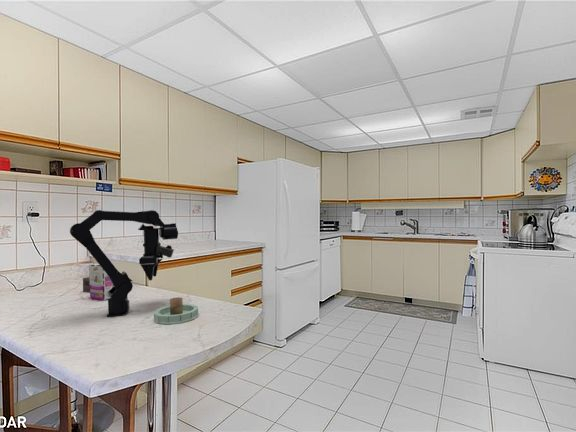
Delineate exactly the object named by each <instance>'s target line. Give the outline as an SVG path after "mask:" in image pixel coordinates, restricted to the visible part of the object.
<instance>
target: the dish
mask: <svg viewBox="0 0 576 432" xmlns="http://www.w3.org/2000/svg"><path fill="white" fill-rule="evenodd" d="M198 316H199V306H198V305H195V304H191V303H190V304H189V303H183V313H182V314H176V315H170V305H168V306H164V307H161V308H158V309H156V310H154V313H153V320H154V323H156V324H159V325H177V324H183V323H186V322H187V323H188V322H190V321H193V320H195V319H196V318H198Z"/></svg>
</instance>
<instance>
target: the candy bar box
mask: <svg viewBox="0 0 576 432" xmlns="http://www.w3.org/2000/svg"><path fill="white" fill-rule="evenodd" d="M88 268H89V269H88V270H89V272H88V273H89V276H88V277H90V292H89V299H90V300H94V301H95V300H96V301H104V302H105V301H108V299H109V298H111V297H110V296H109V294H108V292H109V291H110V290H111V289H112V288H113V284H112V282H111V280H110V278H109V276H108V275H107V273H106V272H105V271H104V270H103V268H102V267H101V266H100V265H99V263H98V262H97V263H91V264H89V265H88Z"/></svg>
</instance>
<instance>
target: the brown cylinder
mask: <svg viewBox="0 0 576 432" xmlns="http://www.w3.org/2000/svg"><path fill="white" fill-rule="evenodd" d="M183 304H184V302H183V297H179V296H177V297H173V298H169V306H170V315H176V314H182V313H183Z"/></svg>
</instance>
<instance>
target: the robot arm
mask: <svg viewBox="0 0 576 432" xmlns="http://www.w3.org/2000/svg"><path fill="white" fill-rule="evenodd" d="M101 221H118V222H119V221H120V222H133V223H134V222H135V223H141V225H140V227H139V228H137V230H138V231H143V244H142V246H143V249H144V250H143V252H144V253H142V254H143V255H142V256H141V257H139V259H138V260H139V261H138V262H139V263H138V264H139V265H140V266H141V268H142V270H143V272H144V273H145V275H146V277H147V279H148V281H152V280H153V278H154V277H157V275H158V273H157V272H158V268H159V264H160V263H161V262H162V261H163V259H164V257H167V258H170V259H171V258H172V257H173V253H174V252H175V249H174V248H173V247H172V245H169V244H167V245H166V246H162V245H161V244H162V243H161V242H160V238H161V239H162V240H163V241H165V240H177V239H178V237H179V230H178V227H177V223H173V222H172V223H166V224H165V223H164V221H163V220H162V219H161V218H160V214H159V212H158V211H156V210H153V209H152V210H143V211H117V210H116V211H114V210H113V211H112V210H102V209H97V210H95V211H93V213H91V214H90V215H89V216H88V217H87V218H85V219H84V220H82V221H81V222H80V223H74V224H73V225H71V227H70V228H69V234H70V235H71V237H72V238H74V239H75V240H76V241H77V242H79V244H81V245H82V246H83V247H84V248H86V250H87V251H88V253H89V254H90V255H91V256H92V257H93V259H94V260H95V261H96V262H97V264H98V263H99V265H100V266H101V267H102V268H103V270H104V271H105V272H106V273H107V275H108V276H109V278H110V280H111V282H112V284H113V288H112V289H111V290H110V291H109V292H108V294H109V296H110V297H111V298H109V299H108V300H107V308H108V309H107V311H108V313H107V315H106V317H108V318H109V317H116V316H125V315H127V314H128V313H129V312H130V310H131V309H130V300H129V298H128V295H129V294H130V293H131V292H132V290H133V286H134V284H133V280H132V279H131V278H130V277H129V276H128V274H127V272H126V271H124V270H123V271H121V272H120V271H119V270H118V269H117V268H116V267H115V265H114V264H113V263H112V262H111V260H110V259H109V257H108V256H107V255H106V254H105V252H104V251H103V250H102V249H101V248H100V246H99V244H97V242H96V241H95V238H94V236H93V234H92V232H91V230H92V229H93V228H94V227H95V226H96V225H98V224H99V223H100V222H101Z"/></svg>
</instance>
